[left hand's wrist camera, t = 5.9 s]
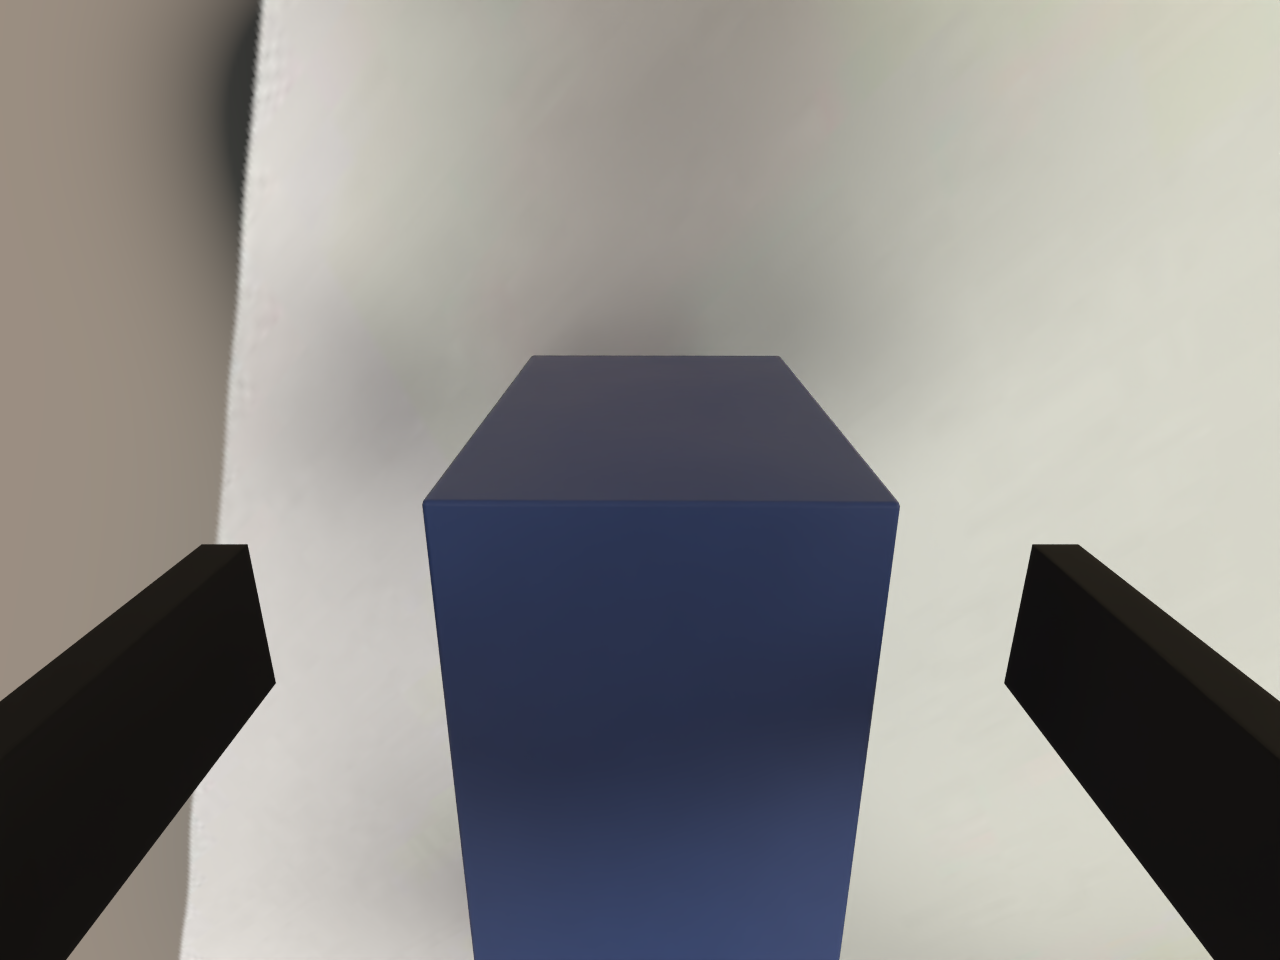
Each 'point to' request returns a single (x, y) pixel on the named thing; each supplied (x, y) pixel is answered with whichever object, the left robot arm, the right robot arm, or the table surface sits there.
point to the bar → (658, 659)
